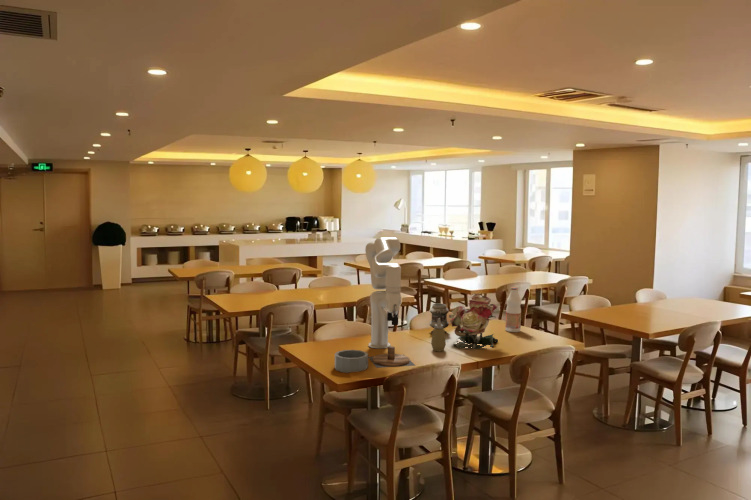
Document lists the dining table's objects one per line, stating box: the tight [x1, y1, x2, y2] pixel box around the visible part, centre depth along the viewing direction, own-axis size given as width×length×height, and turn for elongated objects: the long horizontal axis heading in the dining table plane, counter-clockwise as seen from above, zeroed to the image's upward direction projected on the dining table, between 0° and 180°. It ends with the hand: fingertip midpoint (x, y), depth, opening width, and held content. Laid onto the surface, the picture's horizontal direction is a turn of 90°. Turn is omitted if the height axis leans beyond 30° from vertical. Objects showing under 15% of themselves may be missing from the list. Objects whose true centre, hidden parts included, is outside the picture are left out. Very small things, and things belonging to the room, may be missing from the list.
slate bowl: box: [334, 349, 369, 374], centre depth 282 cm, size 16×16×7 cm
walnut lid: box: [373, 345, 411, 367], centre depth 293 cm, size 19×19×7 cm
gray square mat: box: [368, 354, 416, 369], centre depth 293 cm, size 20×20×1 cm
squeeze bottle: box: [431, 318, 447, 352], centre depth 317 cm, size 8×8×18 cm
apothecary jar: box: [429, 303, 450, 335], centre depth 359 cm, size 12×12×18 cm
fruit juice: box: [505, 286, 522, 333], centre depth 366 cm, size 9×9×28 cm
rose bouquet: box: [448, 293, 499, 350], centre depth 330 cm, size 26×29×30 cm
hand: (392, 322), depth 290 cm, fingers open, 9 cm apart
